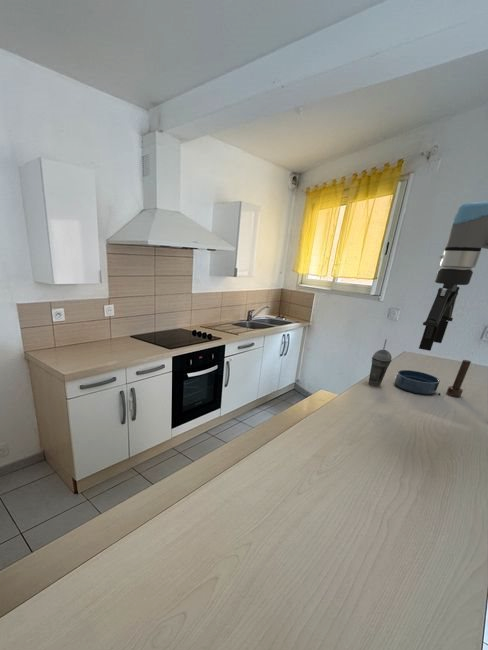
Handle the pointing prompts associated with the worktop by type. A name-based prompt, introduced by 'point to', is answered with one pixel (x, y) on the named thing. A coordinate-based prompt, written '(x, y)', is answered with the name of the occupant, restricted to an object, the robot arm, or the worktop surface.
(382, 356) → the beverage cup
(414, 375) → the bowl
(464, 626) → the worktop surface
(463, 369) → the rusty bolt
